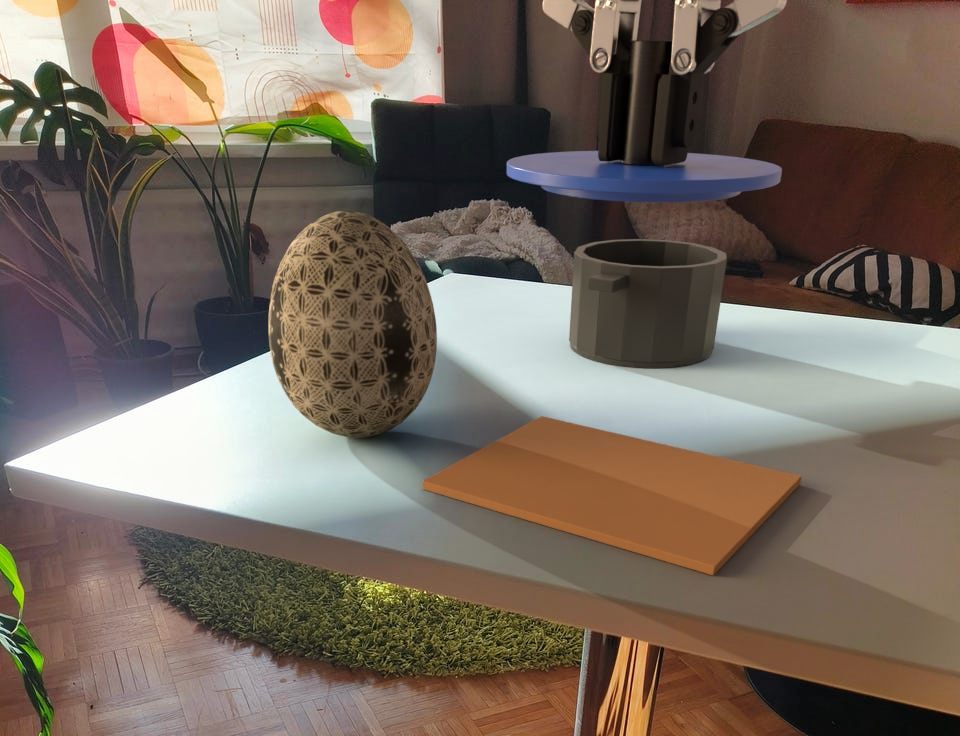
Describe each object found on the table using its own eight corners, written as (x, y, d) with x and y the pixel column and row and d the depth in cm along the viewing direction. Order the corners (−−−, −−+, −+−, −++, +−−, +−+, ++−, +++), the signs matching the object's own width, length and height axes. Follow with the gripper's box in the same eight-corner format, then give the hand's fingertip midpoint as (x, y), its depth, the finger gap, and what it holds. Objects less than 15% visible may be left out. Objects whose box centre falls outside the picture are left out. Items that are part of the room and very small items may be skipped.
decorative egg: (254, 426, 67) (224, 208, 59) (387, 397, 73) (376, 194, 65) (327, 476, 60) (303, 233, 51) (470, 439, 65) (469, 215, 57)
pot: (743, 336, 89) (758, 245, 84) (663, 385, 76) (676, 280, 71) (621, 316, 96) (629, 230, 91) (528, 358, 82) (532, 260, 78)
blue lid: (813, 185, 50) (841, 42, 47) (715, 218, 40) (740, 39, 36) (586, 167, 57) (594, 41, 53) (453, 191, 47) (452, 38, 43)
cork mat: (800, 484, 59) (802, 475, 59) (713, 576, 49) (715, 566, 48) (541, 423, 68) (541, 415, 68) (422, 489, 58) (422, 480, 58)
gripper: (909, -339, 37) (813, 166, 47) (567, -276, 44) (549, 147, 54) (860, -405, 31) (763, 179, 42) (482, -320, 39) (479, 157, 49)
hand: (642, 158), depth 48 cm, fingers closed on blue lid, 2 cm apart
